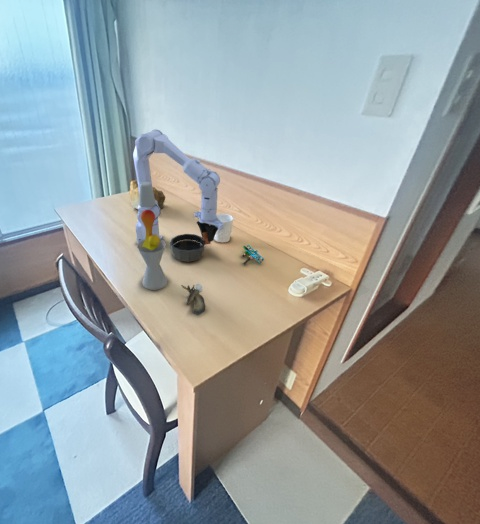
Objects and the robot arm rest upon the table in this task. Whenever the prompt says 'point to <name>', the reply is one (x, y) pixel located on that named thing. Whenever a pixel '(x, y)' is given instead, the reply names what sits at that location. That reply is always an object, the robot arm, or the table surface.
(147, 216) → the lava lamp
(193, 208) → the table surface
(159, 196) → the rough brown rock
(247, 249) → the stick construction toy
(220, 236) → the white cup
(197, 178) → the robot arm
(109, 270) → the table surface
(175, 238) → the black cooking pot
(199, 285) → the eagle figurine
